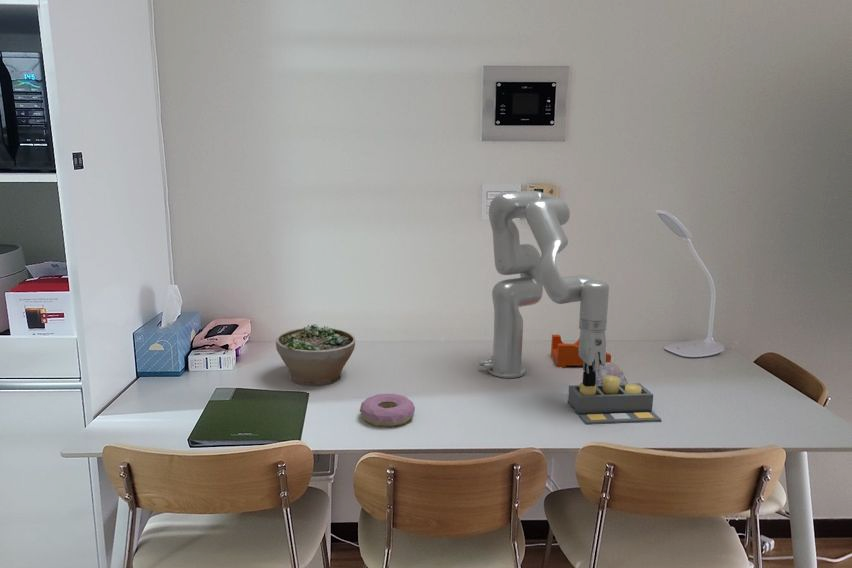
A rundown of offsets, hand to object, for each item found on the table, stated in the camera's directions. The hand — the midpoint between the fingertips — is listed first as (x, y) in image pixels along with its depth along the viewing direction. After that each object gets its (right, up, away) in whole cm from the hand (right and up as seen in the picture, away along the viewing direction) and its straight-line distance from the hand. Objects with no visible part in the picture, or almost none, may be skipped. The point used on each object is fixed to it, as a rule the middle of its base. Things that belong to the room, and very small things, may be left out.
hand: (588, 385), depth 194 cm
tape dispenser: (+7, +1, +42) cm, 43 cm away
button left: (0, -5, +1) cm, 5 cm away
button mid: (+7, -3, +2) cm, 7 cm away
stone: (+12, -4, +20) cm, 24 cm away
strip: (+8, -9, -5) cm, 13 cm away
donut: (-58, -8, -6) cm, 59 cm away
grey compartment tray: (+7, -7, +3) cm, 10 cm away
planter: (-83, -1, +23) cm, 86 cm away
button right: (+13, -6, +3) cm, 15 cm away
